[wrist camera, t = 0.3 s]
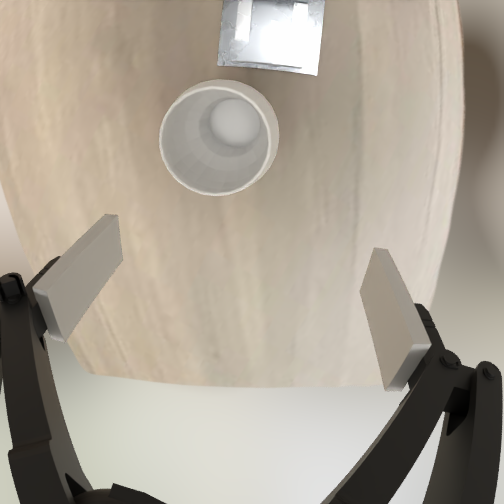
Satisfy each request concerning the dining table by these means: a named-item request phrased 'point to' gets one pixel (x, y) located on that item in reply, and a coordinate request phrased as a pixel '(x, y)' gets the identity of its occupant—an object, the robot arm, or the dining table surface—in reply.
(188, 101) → the cup
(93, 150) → the dining table surface
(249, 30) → the port
